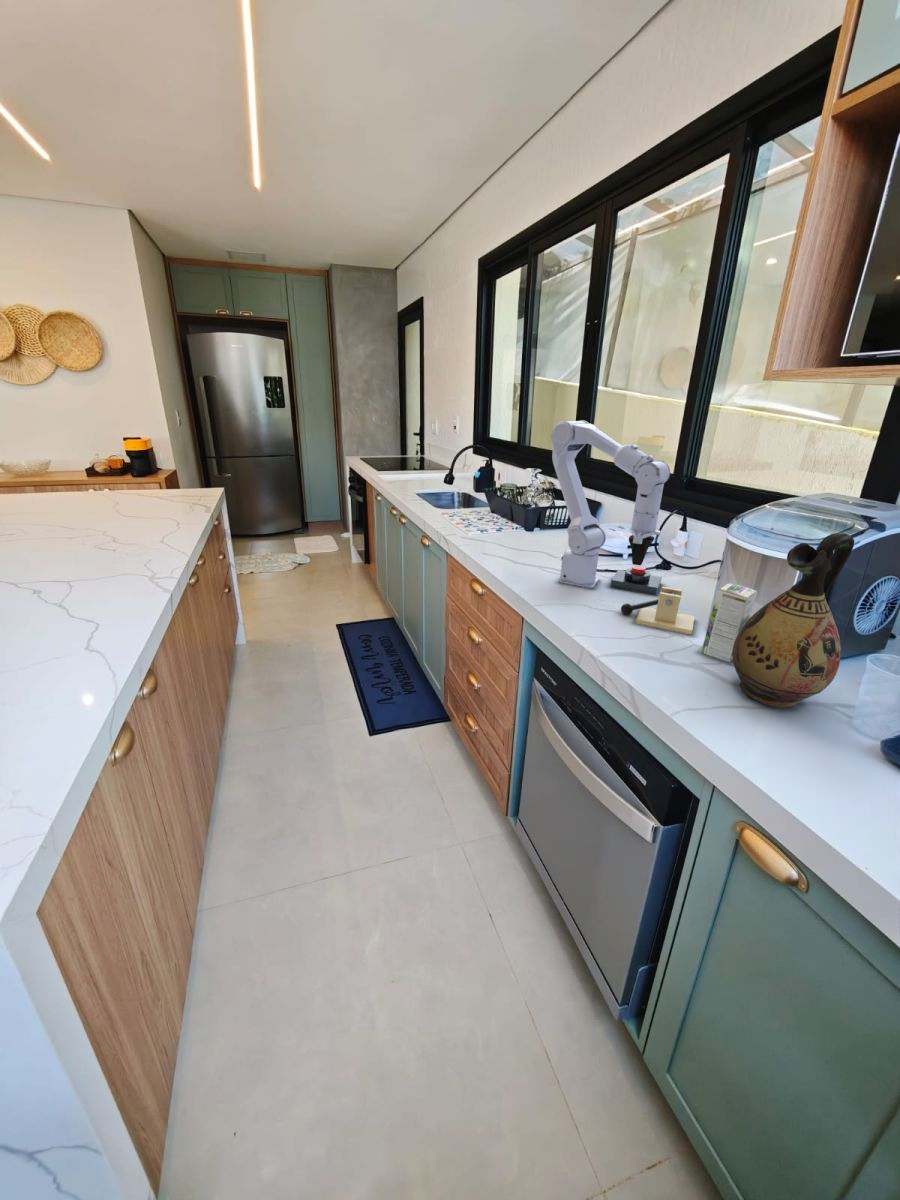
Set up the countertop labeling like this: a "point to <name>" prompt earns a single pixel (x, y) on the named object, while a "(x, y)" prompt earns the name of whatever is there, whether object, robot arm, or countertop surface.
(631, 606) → the lever
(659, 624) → the cream lever stand
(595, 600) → the countertop surface
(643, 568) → the button
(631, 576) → the block
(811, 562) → the ceramic jug
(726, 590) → the syrup box
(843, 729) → the countertop surface
